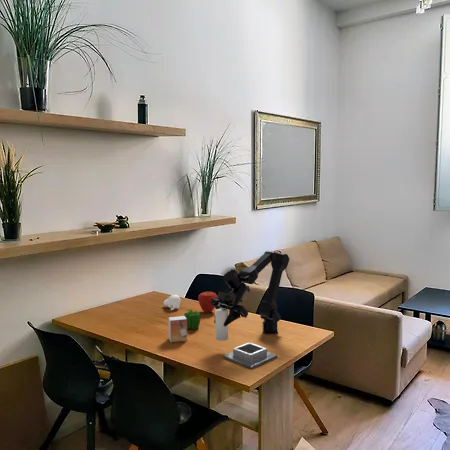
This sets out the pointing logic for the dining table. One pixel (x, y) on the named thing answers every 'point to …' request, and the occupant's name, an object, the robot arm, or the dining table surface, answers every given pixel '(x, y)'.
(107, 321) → the dining table surface
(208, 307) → the apple
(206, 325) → the dining table surface
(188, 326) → the bell pepper
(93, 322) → the dining table surface
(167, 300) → the white animal figurine
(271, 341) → the dining table surface
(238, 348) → the duct collar
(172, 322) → the small box
